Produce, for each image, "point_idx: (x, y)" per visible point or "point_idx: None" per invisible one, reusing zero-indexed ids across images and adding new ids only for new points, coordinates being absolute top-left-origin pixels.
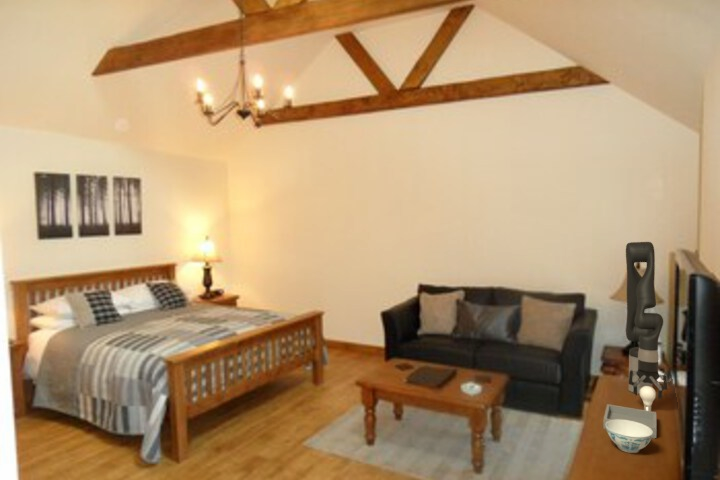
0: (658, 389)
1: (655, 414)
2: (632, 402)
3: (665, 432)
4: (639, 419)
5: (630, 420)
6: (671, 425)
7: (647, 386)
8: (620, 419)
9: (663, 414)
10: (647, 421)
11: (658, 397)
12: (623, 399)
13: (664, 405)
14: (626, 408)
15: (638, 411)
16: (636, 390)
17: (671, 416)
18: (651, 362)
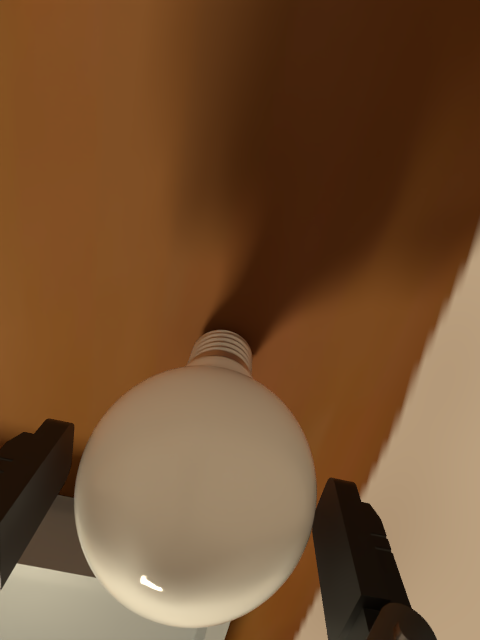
0: (350, 618)
1: (219, 636)
2: (108, 111)
3: (254, 637)
4: None
5: (70, 589)
6: None
7: (167, 613)
8: (11, 587)
9: (343, 384)
10: None
11: (316, 539)
12: (5, 15)
13: (466, 101)
14: (14, 572)
15: None
16: (24, 533)
17: (395, 411)
18: None
